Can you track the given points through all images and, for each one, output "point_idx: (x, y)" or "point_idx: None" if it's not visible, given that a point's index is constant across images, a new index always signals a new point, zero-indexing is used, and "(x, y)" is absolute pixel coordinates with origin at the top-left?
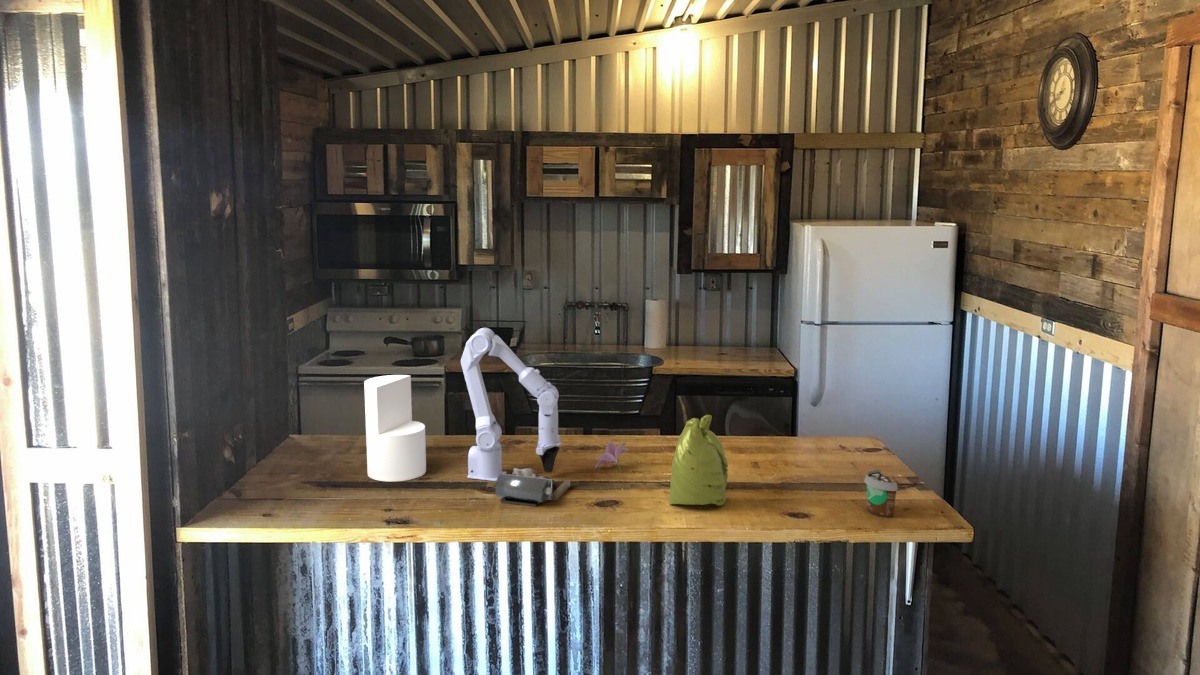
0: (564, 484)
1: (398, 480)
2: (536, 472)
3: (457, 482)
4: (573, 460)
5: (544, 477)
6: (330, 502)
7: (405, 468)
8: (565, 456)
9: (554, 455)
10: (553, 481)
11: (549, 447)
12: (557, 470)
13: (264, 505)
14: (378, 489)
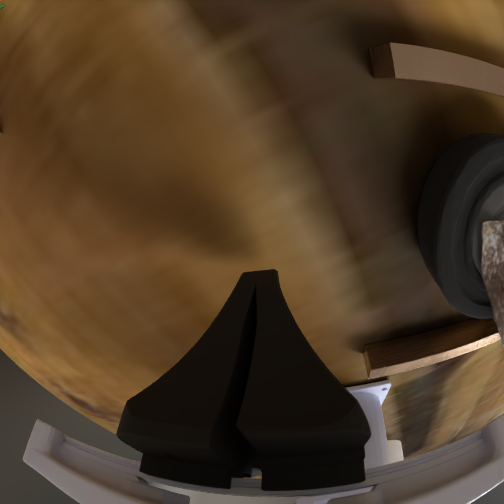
0: (485, 68)
1: (399, 441)
2: (497, 301)
3: (401, 412)
4: (17, 268)
5: (484, 236)
6: (473, 421)
7: (397, 458)
8: (24, 305)
9: (267, 379)
10: (489, 158)
11: (440, 499)
12: (128, 272)
13: (468, 432)
14: (435, 431)
